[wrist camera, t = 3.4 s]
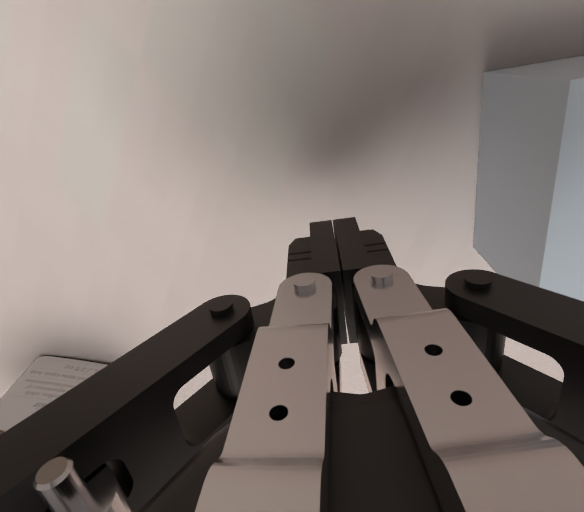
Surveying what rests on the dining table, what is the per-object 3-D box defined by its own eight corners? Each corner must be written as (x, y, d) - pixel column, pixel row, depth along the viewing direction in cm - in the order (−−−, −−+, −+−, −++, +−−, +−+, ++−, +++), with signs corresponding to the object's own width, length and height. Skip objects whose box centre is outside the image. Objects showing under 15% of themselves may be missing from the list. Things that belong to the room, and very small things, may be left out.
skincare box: (137, 365, 24) (-3, 626, 13) (139, 416, 26) (21, 678, 15) (33, 352, 23) (-198, 607, 13) (44, 404, 25) (-147, 662, 15)
